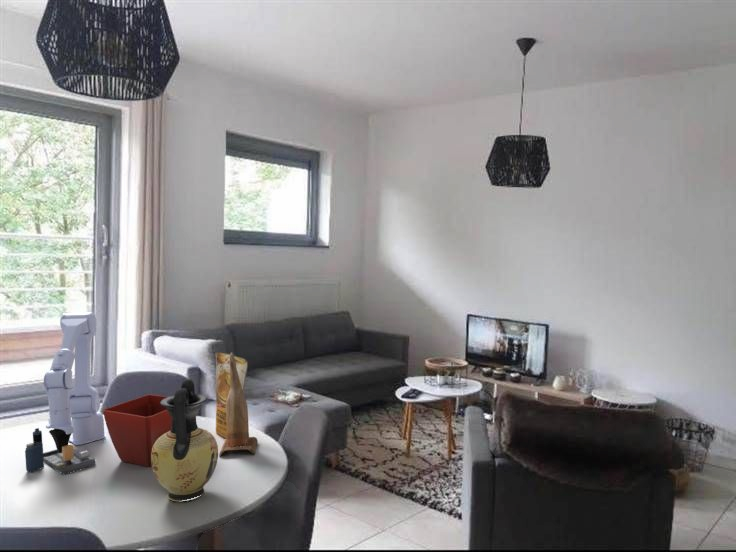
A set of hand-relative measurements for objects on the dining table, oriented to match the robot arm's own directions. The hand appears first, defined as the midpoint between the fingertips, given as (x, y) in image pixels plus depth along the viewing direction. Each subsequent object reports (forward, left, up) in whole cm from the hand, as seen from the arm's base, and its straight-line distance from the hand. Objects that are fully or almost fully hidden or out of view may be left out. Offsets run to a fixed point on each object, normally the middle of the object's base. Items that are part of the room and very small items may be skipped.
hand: (62, 451), depth 175 cm
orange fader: (0, +5, -2) cm, 5 cm away
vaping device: (+8, -1, -4) cm, 8 cm away
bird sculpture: (-40, +35, -4) cm, 54 cm away
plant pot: (-19, +18, -4) cm, 27 cm away
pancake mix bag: (-47, +21, -4) cm, 51 cm away
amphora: (-12, +51, -4) cm, 53 cm away
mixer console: (-1, +1, -3) cm, 4 cm away
